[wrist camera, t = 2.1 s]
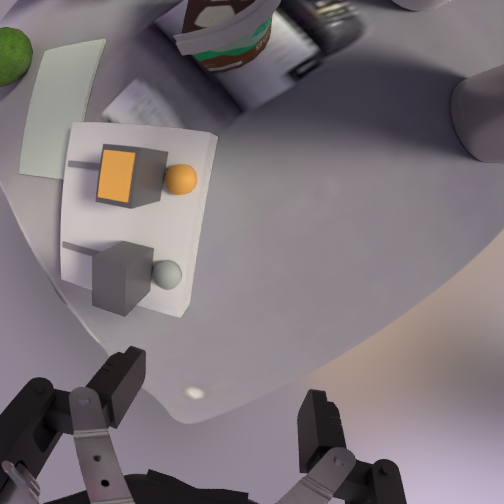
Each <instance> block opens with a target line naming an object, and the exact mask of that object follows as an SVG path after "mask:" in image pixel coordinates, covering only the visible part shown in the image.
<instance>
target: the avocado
mask: <svg viewBox="0 0 504 504" xmlns="http://www.w3.org/2000/svg"><path fill="white" fill-rule="evenodd" d="M32 53H33V51H32V46H31V42H30V40H29V38H28V37H27V36H26V35H25V34H24V33H23V32H22V31H20V30H19V29H14V28H9V27H3V28H0V87H2V86H6V85H9V84H10V83H12V82H13V81H15V80H17V79H19V78H20V77H21V76H22V75H23V74H24V73H25V72H26V70H27V69H28V67H29V65H30V63H31V59H32Z"/></svg>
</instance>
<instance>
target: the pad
mask: <svg viewBox="0 0 504 504" xmlns="http://www.w3.org/2000/svg"><path fill="white" fill-rule="evenodd" d="M105 43H106V40H105V39H99V40H93V41H87V42H82V43H76V44H71V45H67V46H62V47H58V48H54V49H50V50H46V51H45V53H44V55H43V58H42V61H41V65H40V68H39V71H38V74H37V78H36V81H35V85H34V88H33V92H32V96H31V100H30V105H29V109H28V114H27V119H26V124H25V129H24V135H23V141H22V148H21V156H20V165H19V174H25V175H33V176H41V177H48V178H55V179H62V180H64V174H65V166H66V158H67V151H68V145H69V139H70V133H71V128H72V123H73V122H84V118H85V113H86V109H87V104H88V100H89V96H90V92H91V88H92V85H93V81H94V77H95V74H96V71H97V67H98V64H99V61H100V58H101V55H102V52H103V49H104V46H105Z"/></svg>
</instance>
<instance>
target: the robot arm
mask: <svg viewBox="0 0 504 504" xmlns="http://www.w3.org/2000/svg"><path fill="white" fill-rule="evenodd" d="M451 115H452V121H453V124H454V127H455V130H456V132H457V135H458V137H459V139H460V141H461V142H462V144H463V146H464V147H465V148H466V149H467V151H468V152H469V153H470V154H471V155H472V156H474V157H475V158H476V159H478V160H480V161H482V162H486V163H504V64H503V65H501V66H498V67H495V68H493V69H490V70H488V71H485V72H482V73H480V74H478V75H475V76H473V77H470V78H468V79H465V80H463V81H461V82H460V83H458V84H457V86H456V87H455V88H454V91H453V93H452V97H451ZM145 374H146V352H145V350H142V349H139V348H136V347H133V346H130V347H129V348H128V349H127V350H126V352H125V353H124V354H123V353H121V352H117V353H115V354H114V355H112V356H110V357H109V358H108V360H107V361H106V362H105V364H103V366H102V367H101V369H99V371H98V372H97V373H96V374H95V376H94V377H93V378H92V379H91V380H90V382H89V383H88V384H87V385H86V387H78V388H75V389H74V390H72V391H71V392H67V391H62V390H57V389H54V388H53V385H52V383H51V382H50V381H49V380H47V379H45V378H41V377H38V378H33V379H31V380H30V381H29V382H28V383H27V384H26V385H25V386H24V387H23V389H22V390H21V391H20V392H19V393H18V394H17V396H16V397H15V398H14V399H13V400H12V401H11V403H10V404H9V405H8V406H7V407H6V409H5V410H4V411H3V412H2V413H1V415H0V504H39V502H38V501H39V495H40V487H39V485H38V483H37V481H36V478H37V476H38V475H39V473H40V471H41V469H42V468H43V466H44V464H45V462H46V460H47V459H48V457H49V455H50V454H51V452H52V450H53V449H54V447H55V445H56V444H57V442H58V440H59V439H60V437H61V435H62V434H63V433H66V434H71V435H73V437H74V442H75V447H76V452H77V456H78V460H79V465H80V468H81V472H82V476H83V480H84V483H85V486H86V490H85V491H82V492H79V493H76V494H73V495H70V496H67V497H63V498H61V499H57V500H54V501H50V502H46V503H44V504H258V503H257V502H254V501H252V500H249V499H248V493H244V492H238V491H232V490H226V489H198V488H195V487H192V486H190V485H188V484H186V483H184V482H182V481H180V480H178V479H176V478H174V477H172V476H169V475H166V474H162V473H159V472H156V471H153V470H150V469H149V470H148V473H147V474H129V475H124V476H123V473H122V471H121V468H120V465H119V463H118V460H117V457H116V454H115V451H114V448H113V445H112V442H111V439H110V435H109V433H108V430H107V429H108V427H109V426H111V427H113V428H116V429H117V427H118V426H119V424H120V422H121V420H122V419H123V417H124V415H125V413H126V412H127V410H128V408H129V407H130V405H131V403H132V401H133V400H134V398H135V396H136V395H137V393H138V391H139V390H140V388H141V386H142V384H143V382H144V379H145ZM297 425H298V444H299V468H300V473H307V475H306V476H305V477H304V478H302V479H301V480H300V481H299V482H298V483H297V484H296V485H295V486H294V487H293V488H292V489H291V490H289V491H288V492H287V493H286V494H285V495H284V496H283V497H282V498H281V499H280V500H279V501H278V502H277V503H275V504H327V503H328V502H329V501H330V499H331V498H332V497H335V498H339V499H342V500H345V504H407V503H406V498H405V494H404V489H403V484H402V480H401V476H400V472H399V468H398V466H397V465H396V464H395V463H394V462H392V461H390V460H387V459H380V460H378V461H376V462H375V463H374V464H369V463H366V462H361V461H359V460H357V459H356V458H355V456H354V455H353V453H352V452H351V451H349V450H347V448H346V443H345V438H344V433H343V428H342V426H341V419H340V414H339V410H338V408H337V407H336V406H335V404H334V403H333V402H328V401H327V397H326V392H325V391H320V390H313V389H310V390H309V391H308V393H307V395H306V397H305V399H304V401H303V404H302V406H301V408H300V410H299V413H298V419H297Z"/></svg>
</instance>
